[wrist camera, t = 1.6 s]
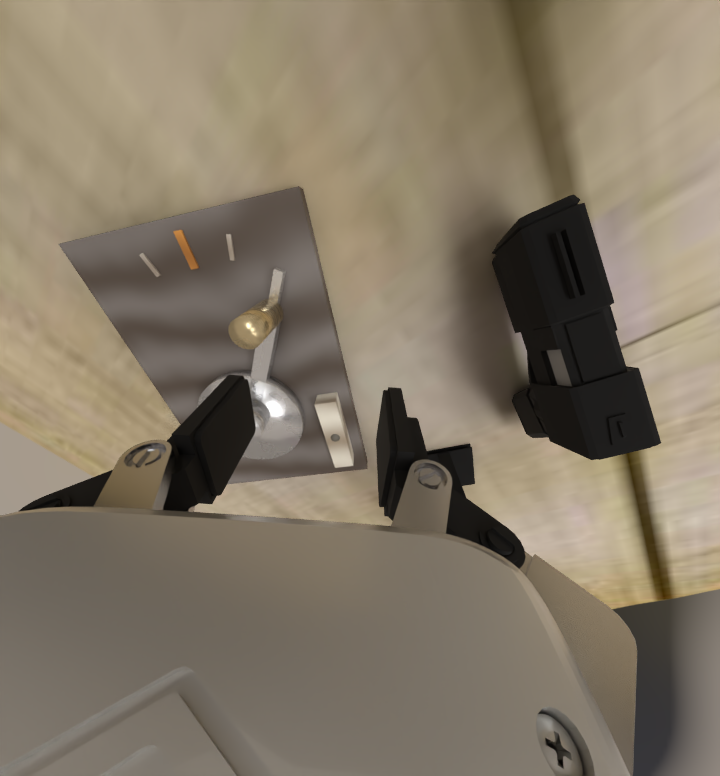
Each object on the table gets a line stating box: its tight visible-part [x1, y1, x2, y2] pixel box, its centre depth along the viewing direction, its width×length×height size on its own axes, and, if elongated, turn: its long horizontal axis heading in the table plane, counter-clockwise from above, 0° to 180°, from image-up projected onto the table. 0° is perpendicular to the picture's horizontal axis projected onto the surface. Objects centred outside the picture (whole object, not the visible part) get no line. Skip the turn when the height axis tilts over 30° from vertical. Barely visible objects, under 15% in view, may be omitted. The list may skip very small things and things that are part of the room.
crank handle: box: [197, 268, 305, 459], centre depth 26 cm, size 23×12×7 cm, turn 160°
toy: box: [492, 195, 661, 460], centre depth 24 cm, size 5×20×15 cm, turn 23°
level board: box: [59, 187, 367, 484], centre depth 29 cm, size 32×22×4 cm
